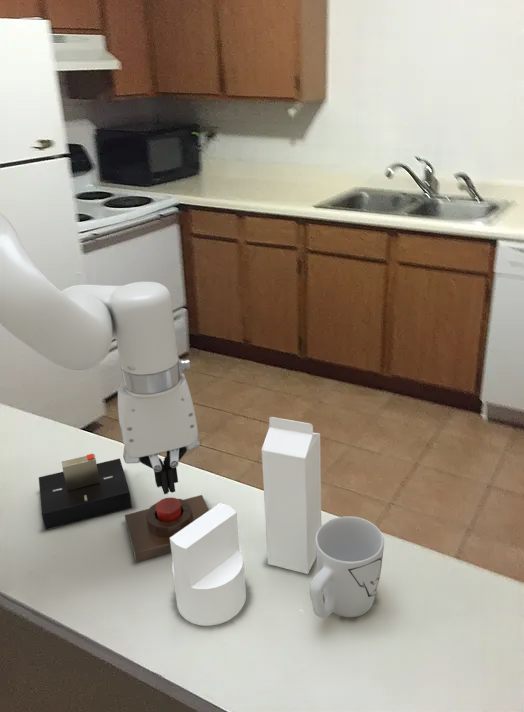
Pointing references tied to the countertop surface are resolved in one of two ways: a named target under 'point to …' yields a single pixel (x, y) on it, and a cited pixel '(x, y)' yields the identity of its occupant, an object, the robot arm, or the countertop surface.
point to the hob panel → (84, 496)
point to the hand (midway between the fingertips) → (167, 487)
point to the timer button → (168, 509)
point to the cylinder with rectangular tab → (209, 568)
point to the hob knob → (80, 472)
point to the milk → (291, 493)
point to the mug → (346, 567)
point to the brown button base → (160, 528)
